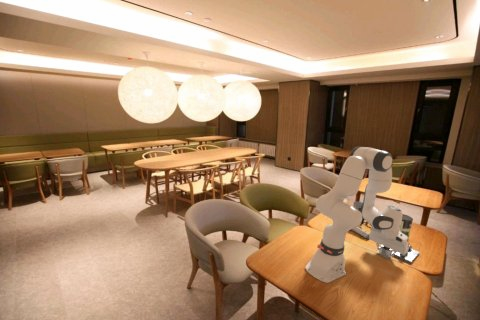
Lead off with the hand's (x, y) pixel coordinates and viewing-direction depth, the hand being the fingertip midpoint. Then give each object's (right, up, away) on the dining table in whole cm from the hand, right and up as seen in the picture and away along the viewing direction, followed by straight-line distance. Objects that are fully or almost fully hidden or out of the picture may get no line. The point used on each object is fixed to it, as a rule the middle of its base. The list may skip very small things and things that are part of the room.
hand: (385, 252), depth 141 cm
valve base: (+13, -2, +2) cm, 13 cm away
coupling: (0, -2, 0) cm, 2 cm away
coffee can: (+25, +3, +23) cm, 34 cm away
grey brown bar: (-7, +5, +27) cm, 29 cm away
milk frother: (+7, +8, +39) cm, 41 cm away
